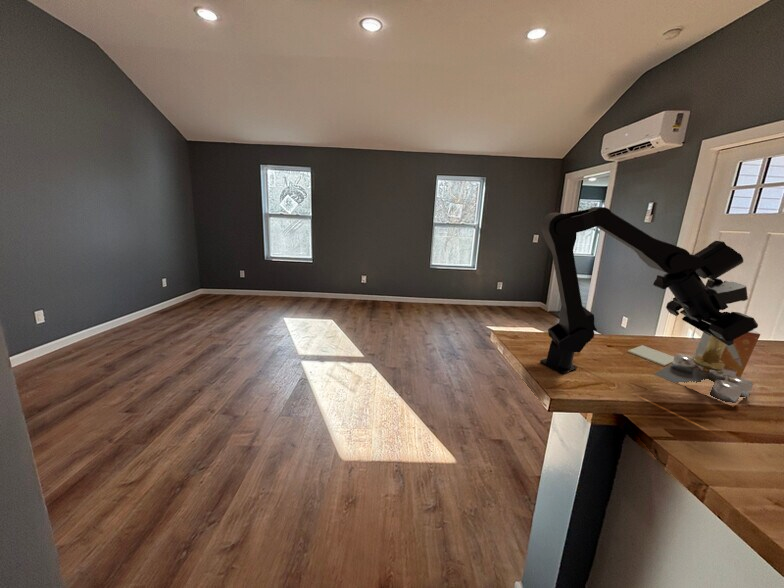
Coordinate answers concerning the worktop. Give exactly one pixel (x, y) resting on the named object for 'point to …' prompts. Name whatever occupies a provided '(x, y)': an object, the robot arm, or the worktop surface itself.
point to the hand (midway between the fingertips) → (724, 341)
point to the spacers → (717, 379)
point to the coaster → (652, 355)
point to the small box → (733, 351)
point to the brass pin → (712, 355)
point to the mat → (681, 375)
